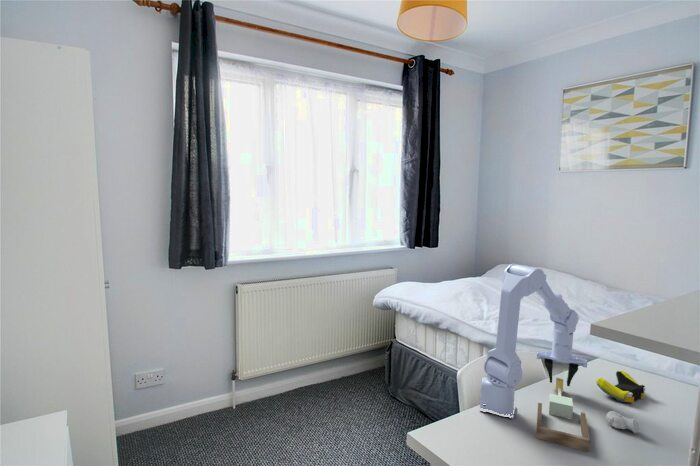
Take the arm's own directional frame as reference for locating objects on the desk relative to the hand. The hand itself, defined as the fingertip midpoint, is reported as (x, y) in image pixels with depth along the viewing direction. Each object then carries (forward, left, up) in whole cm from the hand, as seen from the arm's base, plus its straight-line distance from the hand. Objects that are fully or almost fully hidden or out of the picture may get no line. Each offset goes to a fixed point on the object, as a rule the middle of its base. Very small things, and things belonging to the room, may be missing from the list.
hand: (559, 383), depth 131 cm
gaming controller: (+18, +6, -3) cm, 19 cm away
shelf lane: (0, -25, -2) cm, 25 cm away
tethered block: (0, -9, -2) cm, 9 cm away
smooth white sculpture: (+15, -16, -3) cm, 22 cm away
